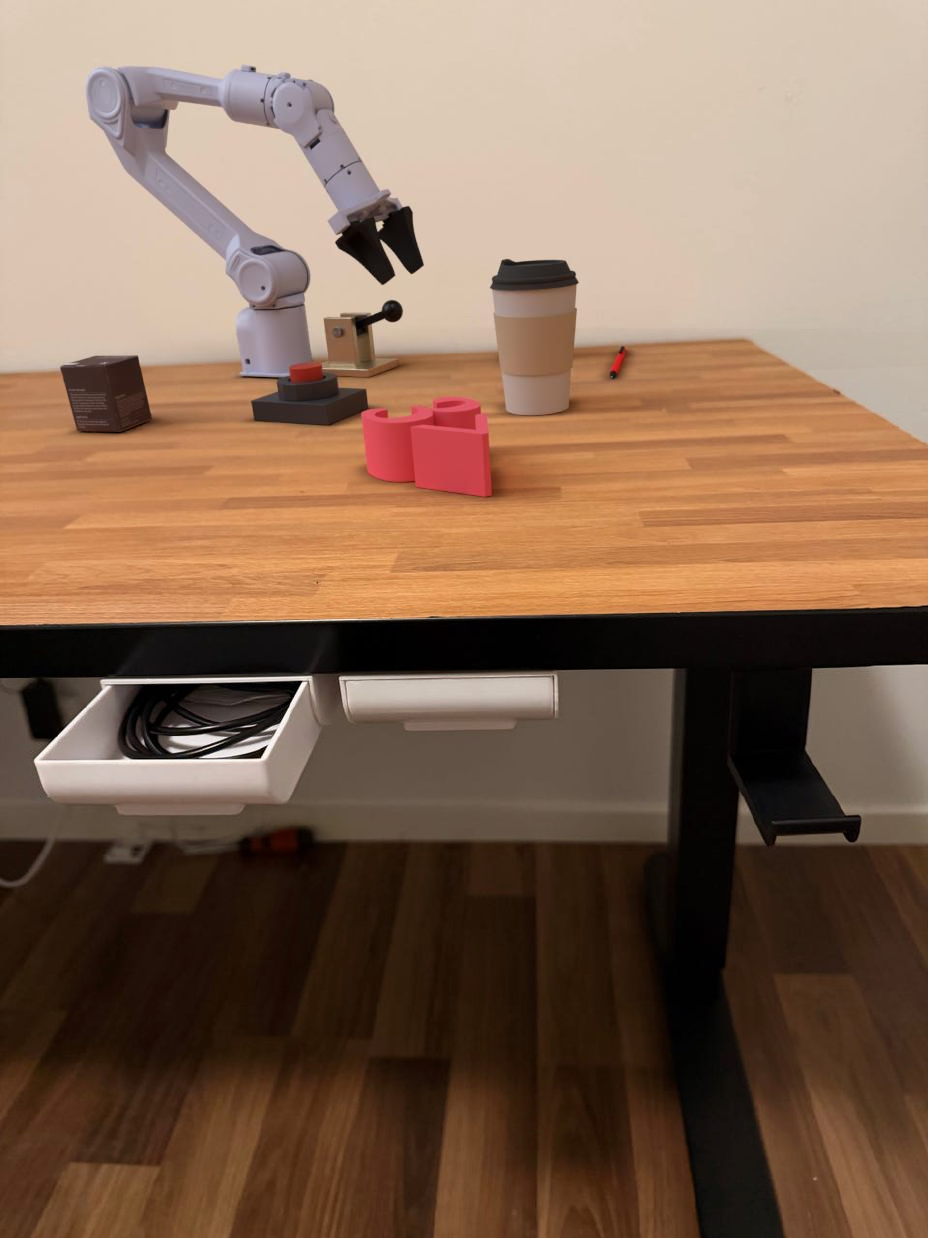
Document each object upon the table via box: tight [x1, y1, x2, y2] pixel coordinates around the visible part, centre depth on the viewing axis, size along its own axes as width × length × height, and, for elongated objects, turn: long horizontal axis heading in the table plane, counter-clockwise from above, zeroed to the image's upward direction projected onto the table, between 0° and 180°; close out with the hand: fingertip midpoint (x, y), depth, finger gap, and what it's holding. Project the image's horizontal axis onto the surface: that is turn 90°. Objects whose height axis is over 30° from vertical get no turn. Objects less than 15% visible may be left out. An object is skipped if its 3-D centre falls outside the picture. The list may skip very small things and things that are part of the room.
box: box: [59, 354, 153, 433], centre depth 100 cm, size 6×6×7 cm
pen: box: [609, 345, 627, 379], centre depth 116 cm, size 1×19×1 cm, turn 167°
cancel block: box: [250, 373, 369, 426], centre depth 100 cm, size 10×8×4 cm
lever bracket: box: [320, 312, 400, 378], centre depth 122 cm, size 10×8×7 cm
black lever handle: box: [355, 299, 404, 336], centre depth 120 cm, size 10×3×3 cm, turn 64°
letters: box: [360, 396, 493, 498], centre depth 75 cm, size 14×10×5 cm
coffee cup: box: [489, 258, 580, 416], centre depth 94 cm, size 9×9×15 cm
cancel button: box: [289, 362, 324, 382], centre depth 99 cm, size 4×4×2 cm
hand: (403, 274), depth 114 cm, fingers open, 7 cm apart
